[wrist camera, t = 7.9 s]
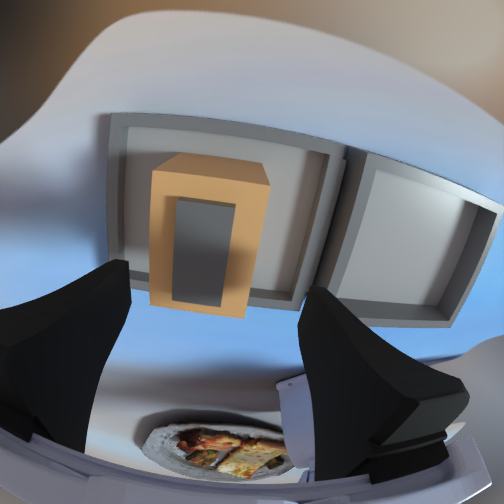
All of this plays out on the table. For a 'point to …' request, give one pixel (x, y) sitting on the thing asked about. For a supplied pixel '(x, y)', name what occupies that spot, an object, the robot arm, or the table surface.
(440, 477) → the robot arm
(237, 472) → the food plate
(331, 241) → the case
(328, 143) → the shallow grey tray
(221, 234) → the module
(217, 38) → the table surface
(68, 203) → the table surface
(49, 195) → the table surface
